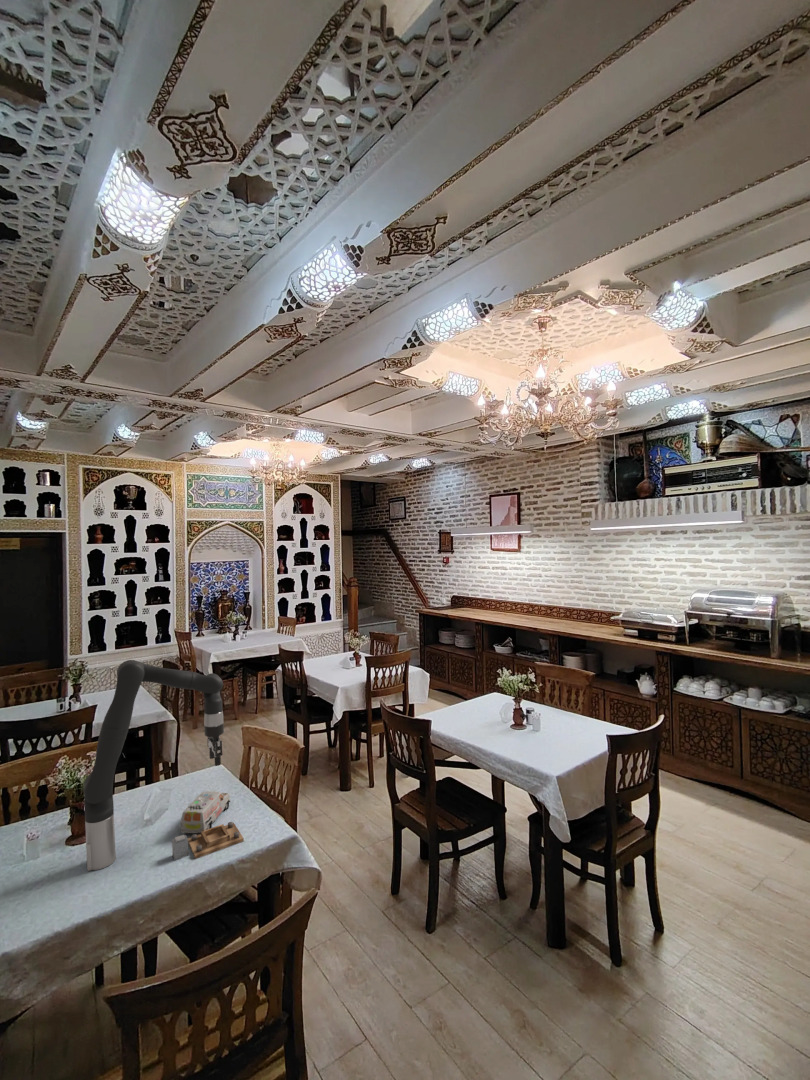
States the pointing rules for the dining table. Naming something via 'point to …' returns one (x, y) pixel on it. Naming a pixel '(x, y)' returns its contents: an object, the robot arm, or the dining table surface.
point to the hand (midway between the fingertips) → (215, 761)
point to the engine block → (180, 847)
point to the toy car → (204, 811)
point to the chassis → (214, 839)
